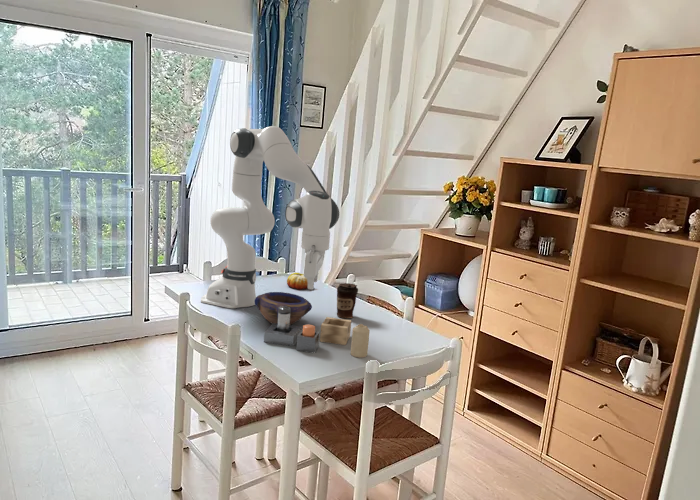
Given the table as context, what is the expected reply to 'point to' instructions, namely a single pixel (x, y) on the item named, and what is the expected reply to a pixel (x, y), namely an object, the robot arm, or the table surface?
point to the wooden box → (335, 331)
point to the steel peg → (283, 319)
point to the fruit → (297, 281)
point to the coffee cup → (346, 299)
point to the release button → (308, 330)
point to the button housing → (307, 342)
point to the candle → (360, 341)
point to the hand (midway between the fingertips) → (312, 285)
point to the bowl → (274, 300)
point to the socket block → (282, 335)
